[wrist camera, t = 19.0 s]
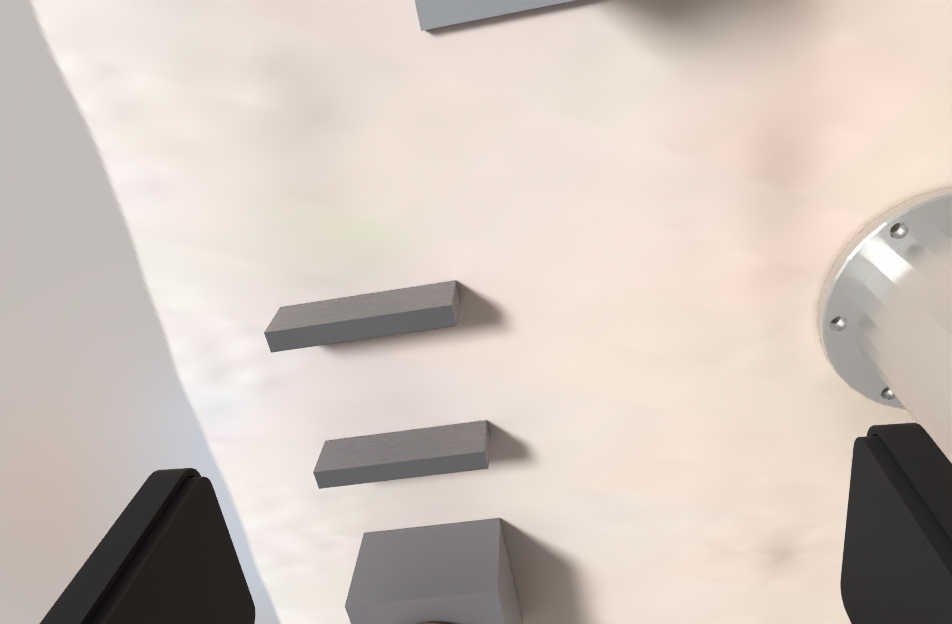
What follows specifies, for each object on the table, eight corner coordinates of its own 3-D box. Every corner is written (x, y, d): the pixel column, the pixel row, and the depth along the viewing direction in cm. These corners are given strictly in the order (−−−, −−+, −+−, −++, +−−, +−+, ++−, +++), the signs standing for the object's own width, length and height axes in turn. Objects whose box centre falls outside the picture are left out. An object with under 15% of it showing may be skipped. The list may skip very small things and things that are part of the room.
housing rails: (456, 280, 41) (451, 304, 38) (490, 436, 45) (488, 468, 42) (280, 307, 42) (264, 332, 39) (330, 456, 46) (319, 488, 44)
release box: (500, 518, 48) (497, 591, 43) (522, 618, 52) (522, 697, 46) (364, 533, 49) (344, 606, 44) (395, 630, 53) (382, 708, 48)
